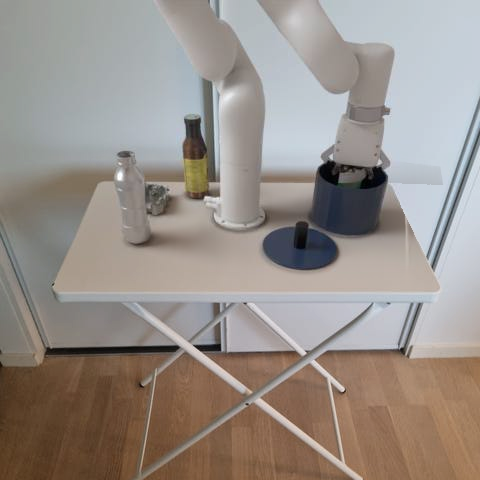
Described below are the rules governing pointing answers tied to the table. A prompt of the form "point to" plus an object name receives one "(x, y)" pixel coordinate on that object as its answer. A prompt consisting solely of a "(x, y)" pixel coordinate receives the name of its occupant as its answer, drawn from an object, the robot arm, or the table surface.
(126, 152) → the plastic bottle
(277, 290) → the table surface
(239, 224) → the robot arm
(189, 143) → the sauce bottle
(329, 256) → the pot lid
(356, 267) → the table surface
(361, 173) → the food container
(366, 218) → the pot
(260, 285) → the table surface
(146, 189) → the grey metal casting
